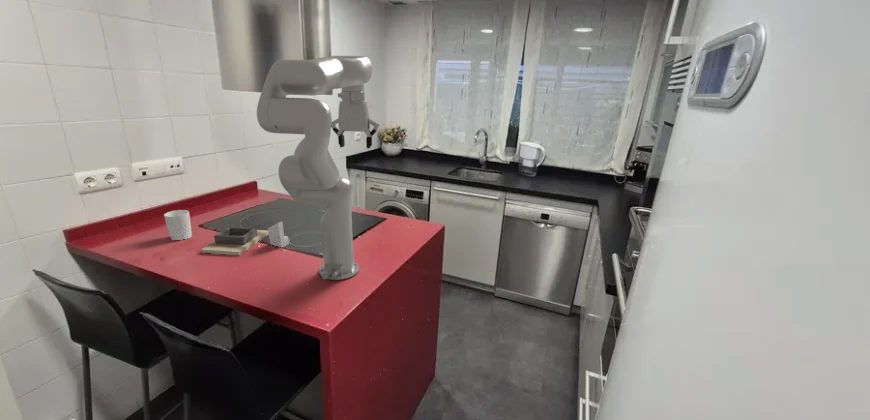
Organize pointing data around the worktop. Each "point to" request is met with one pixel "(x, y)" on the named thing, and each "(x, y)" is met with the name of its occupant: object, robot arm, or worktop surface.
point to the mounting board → (235, 240)
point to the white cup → (178, 224)
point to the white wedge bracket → (278, 235)
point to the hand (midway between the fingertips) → (355, 147)
